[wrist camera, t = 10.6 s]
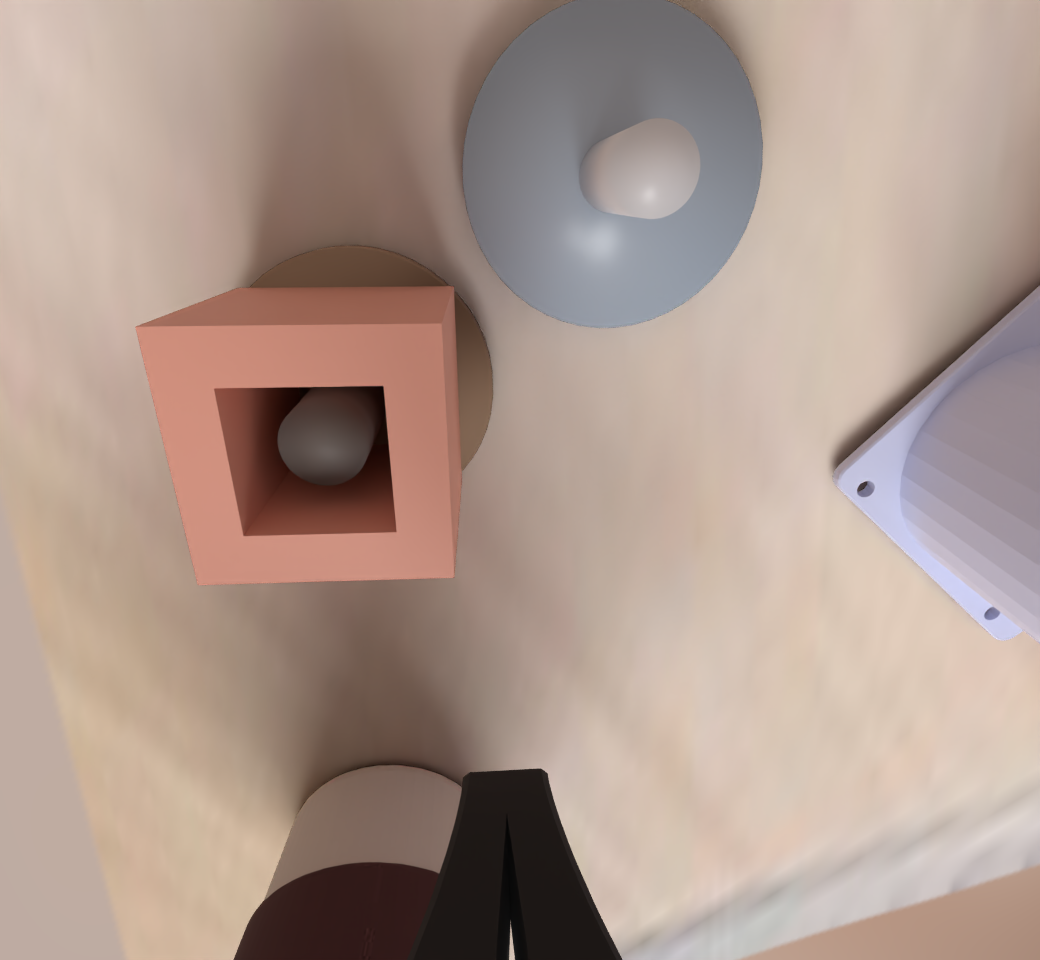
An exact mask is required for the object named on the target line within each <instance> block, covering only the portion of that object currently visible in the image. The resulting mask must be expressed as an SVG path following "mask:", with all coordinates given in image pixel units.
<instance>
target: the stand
mask: <svg viewBox="0 0 1040 960" xmlns="http://www.w3.org/2000/svg"><path fill="white" fill-rule="evenodd" d="M762 148H763V142H762V132H761V122H760V117H759V113H758V108H757V104H756V100H755V97H754V94H753V91H752V89H751V86H750V83H749V80H748V78H747V76H746V74H745V72H744V70H743V68H742V67H741V65H740V63H739V61H738V59H737V58H736V56H735V55H734V54H733V52H732V51H731V49H730V48H729V47H728V45H727V44H726V42H725V41H724V40H723V39H722V38H721V37H720V36H719V35H718V34H717V33H716V32H715V31H714V30H713V29H712V28H711V27H710V26H709V25H708V24H706V23H705V22H704V21H702V20H701V19H700V18H698V17H697V16H696V15H695V14H693V13H691V12H690V11H688V10H686V9H684V8H682V7H680V6H678V5H677V4H675V3H672V2H669V1H666V0H575V1H572V2H569V3H567V4H565V5H563V6H561V7H559V8H557V9H555V10H553V11H551V12H549V13H547V14H546V15H544V16H543V17H541V18H540V19H539V20H537V21H536V22H534V23H533V24H531V25H530V26H529V27H528V28H527V29H526V30H524V31H523V32H522V33H521V34H520V35H519V36H518V37H517V38H516V39H515V40H513V42H512V43H511V44H510V45H509V46H508V48H507V49H506V50H505V51H504V52H503V54H502V55H501V56H500V57H499V58H498V60H497V62H496V63H495V65H494V66H493V68H492V69H491V71H490V73H489V74H488V76H487V77H486V79H485V81H484V83H483V85H482V88H481V90H480V92H479V94H478V96H477V98H476V101H475V104H474V107H473V110H472V113H471V116H470V119H469V123H468V127H467V132H466V137H465V142H464V153H463V165H462V166H463V189H464V195H465V202H466V208H467V212H468V215H469V219H470V223H471V226H472V229H473V232H474V234H475V236H476V239H477V241H478V244H479V246H480V248H481V250H482V252H483V253H484V255H485V257H486V259H487V260H488V262H489V264H490V265H491V267H492V268H493V269H494V271H495V272H496V273H497V275H498V276H499V277H500V279H501V280H502V281H503V282H504V283H505V284H506V285H507V286H508V287H509V288H510V289H511V290H512V291H513V292H514V293H515V294H516V295H517V296H519V297H520V298H521V299H522V300H524V301H525V302H526V303H528V304H529V305H530V306H532V307H534V308H535V309H537V310H539V311H541V312H542V313H544V314H546V315H548V316H551V317H553V318H556V319H558V320H560V321H563V322H567V323H571V324H575V325H579V326H586V327H594V328H615V327H622V326H629V325H634V324H638V323H641V322H645V321H648V320H651V319H654V318H656V317H658V316H661V315H663V314H665V313H668V312H669V311H671V310H673V309H675V308H676V307H678V306H680V305H681V304H683V303H685V302H686V301H687V300H689V299H690V298H691V297H693V296H694V295H695V294H697V293H698V292H699V291H700V290H701V289H702V288H703V287H704V286H705V285H706V284H708V283H709V282H710V281H711V280H712V279H713V278H714V276H715V275H716V274H717V273H718V272H719V270H720V269H721V268H722V267H723V266H724V264H725V263H726V262H727V260H728V259H729V257H730V256H731V254H732V253H733V251H734V250H735V248H736V247H737V245H738V243H739V241H740V239H741V237H742V235H743V233H744V231H745V229H746V227H747V225H748V222H749V219H750V217H751V214H752V211H753V209H754V205H755V201H756V197H757V194H758V190H759V185H760V177H761V170H762Z"/></svg>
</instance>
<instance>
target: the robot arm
mask: <svg viewBox="0 0 1040 960" xmlns="http://www.w3.org/2000/svg"><path fill="white" fill-rule="evenodd" d="M865 481H867V486H866V487H865V488H864V489H863V490H861V491H858V492H857V488H858V487H859V485H860V484H861V483H863V482H865ZM833 482H834V484H835V485H836V487H837V488H838V489H839V490H841V491H842V492H843V493H844V494H845V495H846V496H847V497H848V498H849V499H850V500H851V501H852V502H853V503H854V504H855V505H856V506H857V507H858V508H859V509H860V510H861V511H862V512H863V513H864V514H865V515H867V516H868V517H869V518H870V519H871V520H872V521H873V522H874V523H875V524H876V525H877V526H878V527H879V528H880V529H881V530H882V531H883V532H884V533H885V534H886V535H887V536H888V537H889V538H890V539H891V540H892V541H894V542H895V543H896V544H897V545H898V546H899V547H900V548H901V549H902V550H903V551H904V552H905V553H906V554H907V555H908V556H909V557H910V558H911V559H912V560H913V561H914V562H915V563H916V564H917V565H918V566H919V567H921V568H922V569H923V570H924V571H925V572H926V573H927V574H928V575H929V576H930V577H931V578H932V579H933V580H934V581H935V582H936V583H937V584H938V585H939V586H940V587H941V588H942V589H943V590H944V591H945V592H947V593H948V594H949V595H950V596H951V597H952V598H953V599H954V600H955V601H956V602H957V603H958V604H959V605H960V606H961V607H962V608H963V609H964V610H965V611H966V612H967V613H968V614H969V615H970V616H971V617H972V618H974V619H975V620H976V621H977V622H978V623H979V624H980V625H981V626H982V627H983V628H984V629H985V630H986V631H987V632H988V633H989V634H990V635H992V636H993V637H994V638H995V639H997V640H1008V639H1011V638H1013V637H1015V636H1016V635H1018V634H1019V633H1020V632H1022V631H1025V632H1026V633H1027V634H1028V635H1029V636H1031V637H1032V638H1033V639H1034V640H1036V641H1037V642H1038V643H1039V644H1040V286H1038V287H1037V288H1036V289H1035V290H1034V291H1033V292H1032V293H1031V294H1029V295H1028V296H1027V297H1026V298H1025V299H1024V300H1023V301H1022V302H1021V303H1019V304H1018V305H1017V306H1016V307H1015V308H1014V309H1013V310H1012V311H1010V312H1009V313H1008V314H1007V315H1006V316H1005V317H1004V318H1003V319H1002V320H1000V321H999V322H998V323H997V324H996V325H995V326H994V327H993V328H991V329H990V330H989V331H988V332H987V333H986V334H985V335H984V336H983V337H981V338H980V339H979V340H978V341H977V342H976V343H975V344H974V345H972V346H971V347H970V348H969V349H968V350H967V351H966V352H965V353H964V354H962V355H961V356H960V357H959V358H958V359H957V360H956V361H955V362H953V363H952V364H951V365H950V366H949V367H948V368H947V369H946V370H945V371H943V372H942V373H941V374H940V375H939V376H938V377H937V378H936V379H934V380H933V381H932V382H931V383H930V384H929V385H928V386H927V387H926V388H924V389H923V390H922V391H921V392H920V393H919V394H918V395H917V396H915V397H914V398H913V399H912V400H911V401H910V402H909V403H908V404H907V405H905V406H904V407H903V408H902V409H901V410H900V411H899V412H898V413H896V414H895V415H894V416H893V417H892V418H891V419H890V420H889V421H888V422H886V423H885V424H884V425H883V426H882V427H881V428H880V429H879V430H877V431H876V432H875V433H874V434H873V435H872V436H871V437H870V438H869V439H867V440H866V441H865V442H864V443H863V444H862V445H861V446H860V447H858V448H857V449H856V450H855V451H854V452H853V453H852V454H851V455H850V456H848V457H847V458H846V459H845V460H844V461H843V462H842V463H841V464H839V466H838V467H837V468H836V469H835V471H834V474H833ZM989 608H990V609H989ZM988 609H989V610H988ZM987 610H988V611H987ZM510 921H511V928H512V937H513V945H514V954H515V960H622V958H621V956H620V954H619V952H618V950H617V948H616V946H615V944H614V942H613V940H612V938H611V936H610V934H609V932H608V930H607V928H606V926H605V924H604V922H603V920H602V918H601V916H600V914H599V912H598V910H597V908H596V906H595V903H594V901H593V899H592V897H591V894H590V892H589V890H588V888H587V885H586V883H585V881H584V879H583V876H582V874H581V872H580V870H579V867H578V865H577V863H576V860H575V858H574V855H573V853H572V850H571V848H570V845H569V843H568V840H567V837H566V835H565V832H564V829H563V827H562V824H561V821H560V818H559V815H558V812H557V809H556V806H555V803H554V799H553V796H552V792H551V788H550V784H549V780H548V774H547V773H546V772H545V771H543V770H542V769H524V770H505V771H487V772H470V773H468V774H467V775H466V776H465V777H464V778H463V783H462V791H461V797H460V801H459V806H458V811H457V815H456V819H455V823H454V827H453V831H452V834H451V838H450V841H449V845H448V848H447V852H446V855H445V858H444V861H443V864H442V867H441V870H440V873H439V876H438V879H437V882H436V885H435V888H434V891H433V894H432V897H431V900H430V902H429V905H428V908H427V910H426V913H425V916H424V918H423V921H422V923H421V926H420V928H419V931H418V933H417V936H416V938H415V941H414V943H413V946H412V948H411V951H410V953H409V956H408V958H407V960H509V946H510Z"/></svg>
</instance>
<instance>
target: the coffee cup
mask: <svg viewBox="0 0 1040 960" xmlns="http://www.w3.org/2000/svg"><path fill="white" fill-rule="evenodd" d="M461 791H462V787H461V786H459V785H458V784H457V783H455V782H453V781H452V780H450V779H448V778H446V777H445V776H442V775H440V774H437V773H435V772H431V771H428V770H425V769H421V768H416V767H409V766H403V765H378V766H371V767H365V768H360V769H357V770H353V771H350V772H347V773H344V774H342V775H340V776H338V777H336V778H333V779H332V780H330V781H329V782H327V783H326V784H324V785H323V786H321V787H320V788H318V789H317V790H316V791H315V792H314V793H313V794H312V795H311V796H310V797H309V798H308V799H307V801H306V802H305V803H304V805H303V806H302V808H301V809H300V811H299V813H298V815H297V816H296V818H295V821H294V823H293V826H292V829H291V831H290V834H289V837H288V839H287V842H286V844H285V847H284V850H283V852H282V855H281V858H280V860H279V863H278V865H277V868H276V871H275V873H274V876H273V879H272V881H271V884H270V886H269V889H268V892H267V894H266V897H265V900H264V901H263V902H262V904H261V905H260V906H259V907H258V909H257V910H256V911H255V913H254V914H253V916H252V917H251V919H250V921H249V923H248V925H247V927H246V930H245V932H244V935H243V937H242V940H241V942H240V945H239V947H238V950H237V953H236V955H235V958H234V960H407V958H408V956H409V953H410V951H411V948H412V946H413V943H414V941H415V938H416V936H417V933H418V931H419V928H420V926H421V923H422V921H423V918H424V916H425V913H426V910H427V908H428V905H429V902H430V900H431V897H432V894H433V891H434V888H435V885H436V882H437V879H438V876H439V873H440V870H441V867H442V864H443V861H444V858H445V855H446V852H447V848H448V845H449V841H450V838H451V834H452V831H453V827H454V823H455V819H456V815H457V811H458V806H459V801H460V797H461Z"/></svg>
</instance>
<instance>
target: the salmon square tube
mask: <svg viewBox="0 0 1040 960" xmlns="http://www.w3.org/2000/svg"><path fill="white" fill-rule="evenodd" d="M136 331H137V335H138V339H139V344H140V348H141V352H142V356H143V360H144V364H145V368H146V373H147V377H148V381H149V385H150V389H151V393H152V397H153V402H154V406H155V410H156V414H157V418H158V422H159V426H160V430H161V435H162V439H163V443H164V447H165V451H166V455H167V459H168V464H169V468H170V472H171V476H172V480H173V484H174V488H175V493H176V497H177V501H178V505H179V509H180V513H181V517H182V521H183V526H184V530H185V534H186V538H187V542H188V546H189V550H190V555H191V559H192V563H193V567H194V571H195V575H196V579H197V584H198V585H218V584H253V583H287V582H322V581H357V580H392V579H426V578H454V576H455V563H456V550H457V537H458V524H459V511H460V498H461V485H462V470H461V446H460V422H459V398H458V373H457V349H456V325H455V301H454V286H417V287H289V288H236V289H234V290H231V291H228V292H226V293H223V294H220V295H218V296H215V297H213V298H210V299H207V300H205V301H202V302H199V303H197V304H194V305H191V306H189V307H186V308H184V309H181V310H178V311H176V312H173V313H170V314H168V315H165V316H162V317H160V318H157V319H154V320H152V321H149V322H147V323H144V324H141V325H139V326H136ZM343 386H384V397H385V408H386V419H387V430H388V441H389V444H373V446H372V448H371V451H370V453H369V455H368V457H367V460H366V462H365V464H364V466H363V468H362V469H361V470H360V472H359V473H358V474H357V475H356V476H354V477H353V478H352V479H350V480H348V481H346V482H344V483H341V484H338V485H331V486H324V485H317V484H313V483H310V482H307V481H305V480H303V479H301V478H300V477H298V476H297V475H296V474H294V473H293V472H292V471H291V470H290V469H289V468H288V467H287V465H286V464H285V462H284V461H283V459H282V457H281V455H280V452H279V448H278V432H279V428H280V426H281V423H282V422H283V420H284V419H285V417H286V416H287V415H288V414H289V413H290V412H291V411H292V409H293V408H294V407H295V406H296V405H297V404H298V403H299V402H300V393H299V387H343Z"/></svg>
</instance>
